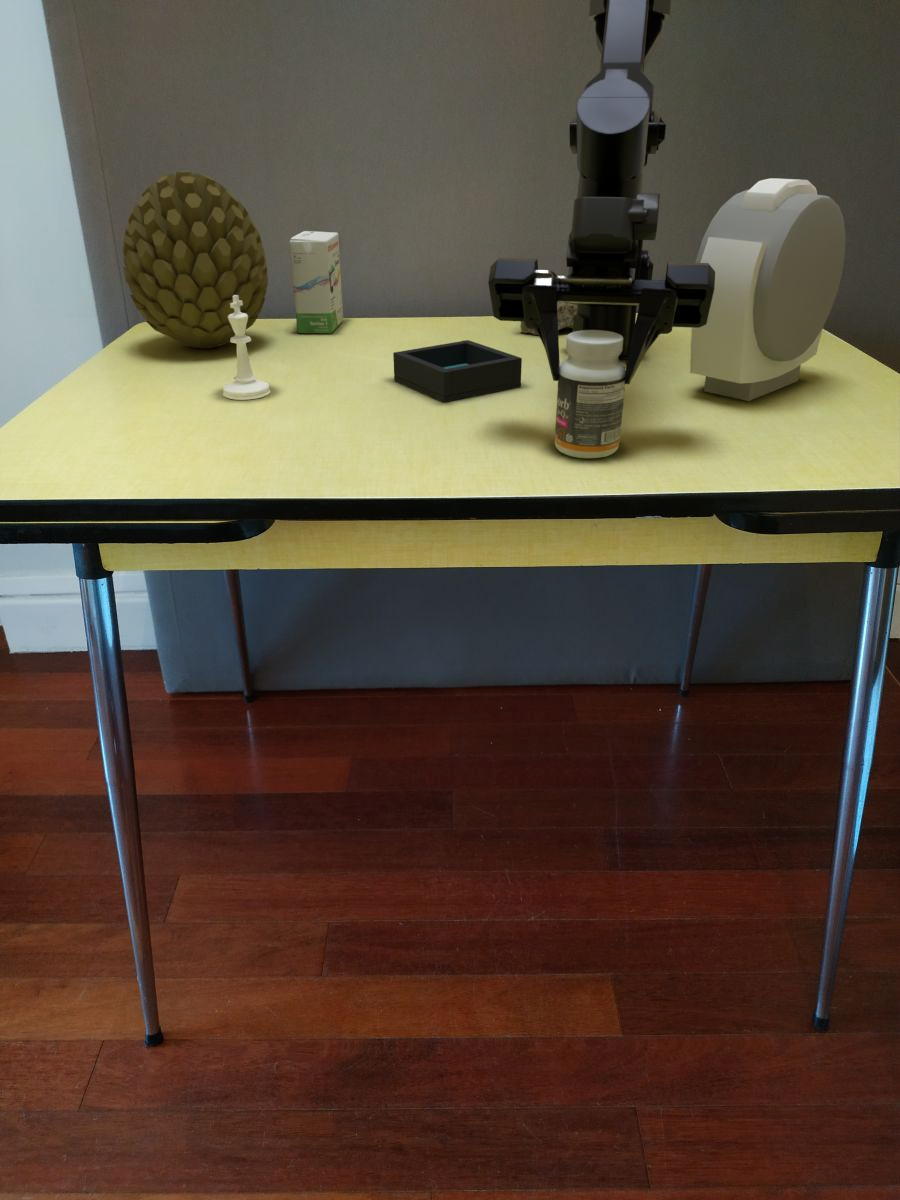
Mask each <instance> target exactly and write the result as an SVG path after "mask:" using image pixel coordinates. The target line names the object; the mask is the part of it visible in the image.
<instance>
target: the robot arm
mask: <svg viewBox="0 0 900 1200" xmlns="http://www.w3.org/2000/svg"><path fill="white" fill-rule="evenodd" d="M671 9H672V0H589V9H588V19H589V22H590V23H595V27H594V28H595V41H596V47H597V48H598V51H599V53H600V55H601V57H600V66H599V72H598V73H597V74H596V75H595V76H594V77H592V78H591V80H589V81H588V82H587V83H586V84H585V86H584V90H583V92H582V93H581V94H580V96H579V97H578V98H577V101H576V110H574V112H573V114H572V117H571V119H570V121H569V149H570V151H571V153H572V155H576V166H577V167H576V168H577V171H578V173H579V177H578V184H577V185H578V186H577V192H576V193H577V194H576V198H575V199H573V209H572V220H571V221H572V222H571V230H570V231H569V234H568V240H567V250H566V259H565V261H566V267H567V268H568V273H567V275H557V274H556V273H555V272H554V271H552V270H548V269H539V264H538V262H539V261H538V258H513V257H512V258H511V257H510V258H509V257H499V258H497V259H496V261H494V262H493V263H492V264H491V265H490V267H489V273H488V274H489V275H488V282H487V283H488V289H489V295H490V301H491V308H492V314H493V315H492V316H493V317H494V319H496V320H499V321H500V322H504V321H505V322H521V321H524V322H525V326H526V327H527V328H529V329H535V330H537V332H538V334H539V335H538V337H539V339H540V341H541V343H542V345H543V347H544V351H545V354H546V357H547V361H548V365H549V370H550V374H551V377H552V380H553V382H558V377H559V368H560V366H561V363H560V341H559V339H560V338H559V337H560V336H559V330H558V313H557V302H558V301H570V303H571V304H575V303H578V308H577V314H575V315H574V319H573V328H572V332H575V331H581V330H602V331H610V332H614V333H617V334H620V335H621V336H622V337H623V351H622V352H621V354H620V355H619V358H618V360H623V359H624V360H625V359H626V362H625V363H626V364H625V370H626V373H625V385H630V384H631V382H632V380H633V378H634V376H635V375H636V372H637V370H638V368H639V366H640V364H641V362H642V361H643V359H644V357H645V355H646V353H648V351H649V350H650V348H651V347H652V345H653V344H654V343H655V341H656V340H657V339H658V337H659V336H660V335H668V334H671V333H672V332H673V328H691V329H692V328H700V327H702V326H704V325H706V324H707V319H708V315H709V310H710V306H711V302H712V297H713V293H714V286H715V270H714V269H713V268H712V267H711V265H710V264H709V263H695V262H681V261H668V262H667V263H666V270H665V277H664V279H665V280H664V279H662V280H661V279H658V280H657V279H653V274H654V273H653V272H654V262H653V261H652V260H651V257H650V256H651V255H649V249H643V247H644V245H643V244H644V241H655V240H656V238H657V232H658V231H657V230H658V224H659V223H658V221H659V210H660V200H661V199H660V198H661V193H658V192H657V193H656V192H654V193H652V192H649V193H648V192H643V187H644V173H643V169H644V167H646V166H647V165H648V156H649V155H656V154H657V151H659V149H660V147H659V146H660V145H661V144H662V142H664V141H665V140H666V129H667V124H666V123H665V121H664V120H663V119H662V118H663V117H662V116H661V110H653V101H654V89H655V85H654V83H653V82H652V81H651V80H650V79H649V78H648V76H646V74H645V68H646V66H647V65H648V63H649V62H650V60H651V58H652V57H653V56H654V53H655V52H656V51H657V49H658V48H659V46H660V44H661V39H662V30H663V22H664V21H668V22H669V21H670V17H671Z"/></svg>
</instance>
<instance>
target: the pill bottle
mask: <svg viewBox="0 0 900 1200" xmlns="http://www.w3.org/2000/svg"><path fill="white" fill-rule="evenodd" d="M565 349H566V353H567V354H568V357H567V359H565V360H564V361H562V363H560V368H559V377H558V381H557V394H556V411H555V412H556V413H555V428H554V445H555V448H556V449H557V451H559V452H560V453H562V454H563V455H565V456H568V457H573V458H577V459H600V458H606V457H608V456H611V455H613V454H615V453H616V452H617V451H618V450H619V446H620V441H621V433H622V422H623V409H624V402H625V390H626V384H625V373H626V366H625V365H624V363H622V362H621V360H620V359H618V358H619V355H620V354H621V352H622V351H623V337H622V336H621V335H620V334H617V333H614V332H610V331H602V330H581V331H575V332H573V331H572V332H570V333H568V334H567V336H566V344H565Z"/></svg>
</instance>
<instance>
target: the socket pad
mask: <svg viewBox="0 0 900 1200" xmlns="http://www.w3.org/2000/svg"><path fill="white" fill-rule="evenodd" d="M392 353H393V354H392V355H393V359H392V360H393V380H394V381H395V382H397V383H399V384H400V385H401V384H402V385H404V386H406V387H408V388H410V389H413V390H415V391H417V392H420V393H422V394H424V395H427V396H429V397H431V398H434V399H435V400H438V401H441V402H443V403H447V402H451V401H457V400H462V399H466V398H471V397H476V396H481V395H486V394H491V393H496V392H500V391H507V390H509V389H510V390H511V389H515V388H520V387H522V366H523V365H522V363H523V362H522V361H523V360H522V359H523V358H522V357H520V356H517V355H514V354H511V353H509V352H505V351H502V350H499V349H497V348H493V347H490V346H488V345H484V344H481V343H479V342H475V341H472V340H469V339H466V340H461V341H455V342H447V343H442V344H436V345H431V346H424V347H418V348H412V349H406V350H402V351H401V350H400V351H394V352H392Z"/></svg>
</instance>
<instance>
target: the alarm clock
mask: <svg viewBox="0 0 900 1200" xmlns="http://www.w3.org/2000/svg"><path fill="white" fill-rule="evenodd" d="M698 249H699V250H698V252H697V256H696V259H695V262H694V263H709V264H710V265H711V267H712V268H713V269H714V270H715V286H714V293H713V297H712V302H711V306H710V310H709V315H708V319H707V324H706V325H704V326H702V327H700V328H692V327H691V338H690V363H689V364H690V365H689V366H690V367H689V368H690V369H689V373H690V374H694V375H699V376H702V377H705V379H704V387H703V392H706V393H711V394H715V395H720V396H724V397H729V398H731V399H732V398H733V399H736V400H737V399H738V400H742V401H745V402H750V401H752V400H755V399H758V398H760V397H763V396H765V395H768V394H769V393H773V392H775V391H777V390H779V389H782V388H784V387H787V386H789V385H792V384H794V383H797V382H799V377H800V372H801V366H802V365H803V364H805V363H806V362H808V361H809V360H810V359H812V358H814V357H815V356H816V355H817V352H818V349H819V344H820V341H821V338H822V337H821V336H822V333H823V330H824V327H825V325H826V322H827V320H828V317H829V316H830V313H831V312H832V309H833V306H834V304H835V301H836V297H837V294H838V291H839V287H840V283H841V280H842V276H843V271H844V270H843V269H844V265H845V264H844V262H845V256H846V228H845V220H844V216H843V214H842V211H841V207H840V206H839V204H837V202H835V200H834V199H833V198H832V197H830V196H828V195H824V194H818V191H817V187H816V186H814V184H813V183H812V182H810V181H809V180H808V179H797V178H795V179H794V178H777V177H776V178H771V177H770V178H766V179H761V180H758V181H757V182H756V183H755V184H754V185H753V186H752V187H751V188H750V189H745V190H743V191H741V192H737V193H735V194H734V195H732V196H731V197H730V198H729V199H728V200H727V201H726V202H725V203H724V204H723V205H721V206H720V208H719V209H718V211H717V212H716V213H715V215H714V217H713V218H712V219H711V221H710V223H709V224H708V226H707V229H706V231H705V233H704V235H703V237H702V240H701V243H700V246H699V248H698Z"/></svg>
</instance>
